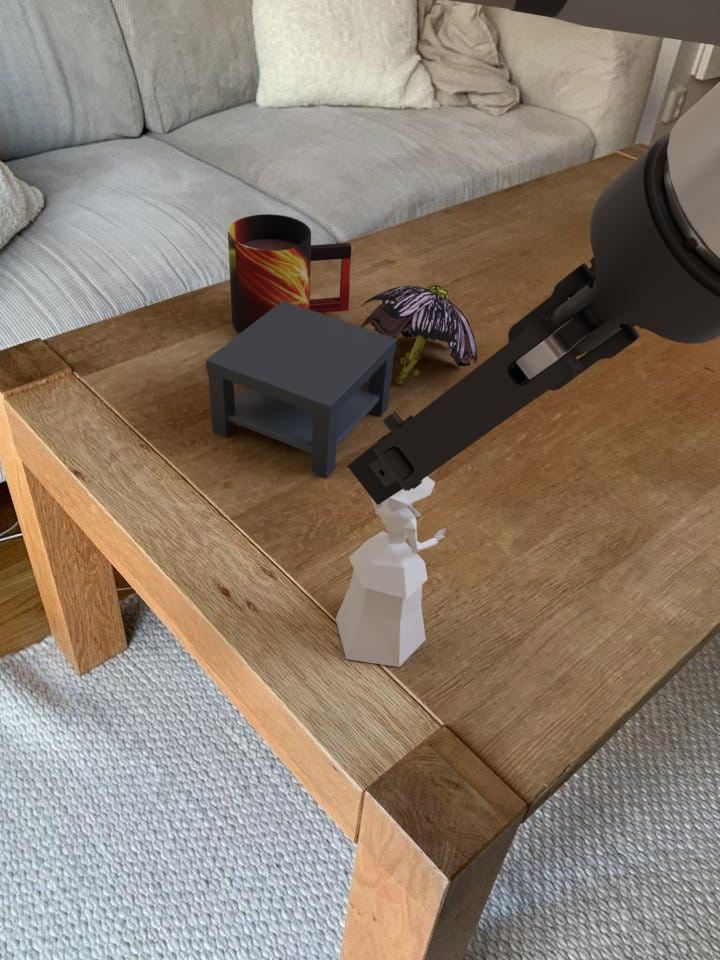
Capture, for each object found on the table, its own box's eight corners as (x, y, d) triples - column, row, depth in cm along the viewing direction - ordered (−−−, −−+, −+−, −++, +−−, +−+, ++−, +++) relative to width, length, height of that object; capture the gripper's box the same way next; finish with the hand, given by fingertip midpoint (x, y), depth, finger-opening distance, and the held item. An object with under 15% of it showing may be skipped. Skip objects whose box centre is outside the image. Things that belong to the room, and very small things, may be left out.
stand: (210, 432, 86) (205, 359, 80) (282, 369, 95) (282, 300, 89) (326, 479, 81) (330, 406, 75) (389, 408, 91) (397, 338, 85)
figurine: (441, 622, 69) (473, 458, 57) (384, 685, 64) (406, 519, 52) (373, 581, 72) (391, 417, 60) (314, 638, 67) (321, 471, 55)
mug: (350, 318, 105) (356, 229, 97) (261, 351, 98) (259, 258, 90) (304, 287, 110) (306, 200, 102) (217, 317, 103) (211, 226, 95)
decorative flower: (522, 300, 91) (417, 290, 82) (500, 402, 94) (397, 401, 86) (440, 279, 102) (340, 267, 93) (423, 370, 106) (325, 367, 97)
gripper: (621, 467, 24) (336, 598, 42) (911, 175, 36) (595, 373, 55) (463, 260, 23) (247, 482, 42) (809, 40, 36) (527, 284, 54)
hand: (444, 421), depth 48 cm, fingers open, 13 cm apart
